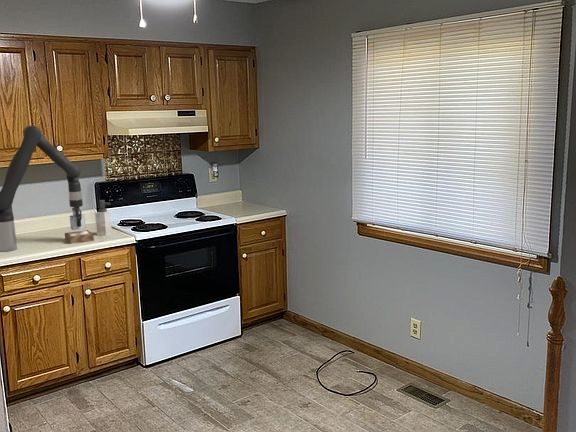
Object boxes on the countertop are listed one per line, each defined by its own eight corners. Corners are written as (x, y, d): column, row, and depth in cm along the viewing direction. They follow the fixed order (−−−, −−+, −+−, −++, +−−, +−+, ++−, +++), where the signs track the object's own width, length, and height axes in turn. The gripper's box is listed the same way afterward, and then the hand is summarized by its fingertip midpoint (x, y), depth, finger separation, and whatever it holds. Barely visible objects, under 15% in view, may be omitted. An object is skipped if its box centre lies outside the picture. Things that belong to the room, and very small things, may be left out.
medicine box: (82, 227, 360) (81, 213, 358) (86, 228, 357) (85, 214, 356) (70, 229, 354) (69, 215, 352) (74, 230, 351) (73, 216, 350)
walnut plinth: (70, 243, 348) (69, 237, 347) (65, 239, 359) (64, 232, 359) (93, 240, 355) (93, 233, 354) (88, 236, 367) (87, 229, 366)
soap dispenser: (109, 235, 367) (106, 201, 363) (97, 235, 370) (94, 201, 365) (115, 233, 373) (112, 199, 369) (103, 232, 376) (100, 199, 371)
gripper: (66, 197, 356) (69, 224, 359) (71, 200, 344) (74, 228, 347) (79, 196, 360) (81, 223, 363) (84, 199, 348) (87, 227, 351)
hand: (78, 225), depth 355 cm, fingers closed on medicine box, 5 cm apart
